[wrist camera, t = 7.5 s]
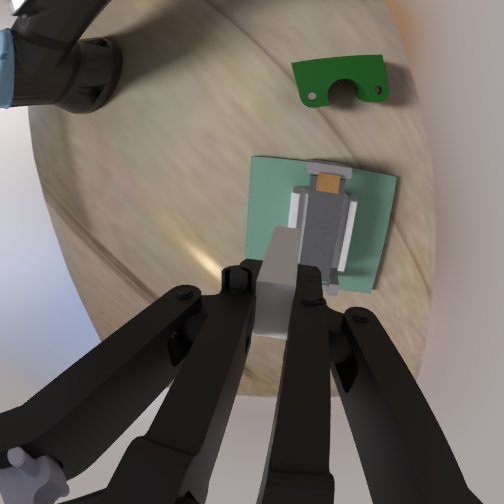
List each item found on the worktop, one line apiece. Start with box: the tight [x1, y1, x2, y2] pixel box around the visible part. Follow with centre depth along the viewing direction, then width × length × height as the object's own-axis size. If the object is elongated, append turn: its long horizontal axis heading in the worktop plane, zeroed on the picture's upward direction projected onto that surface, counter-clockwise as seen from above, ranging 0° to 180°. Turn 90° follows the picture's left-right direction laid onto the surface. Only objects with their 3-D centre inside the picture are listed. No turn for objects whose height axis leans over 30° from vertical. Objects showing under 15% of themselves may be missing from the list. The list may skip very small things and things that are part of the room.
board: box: [245, 156, 397, 296], centre depth 35 cm, size 18×20×8 cm
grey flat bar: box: [299, 172, 346, 282], centre depth 31 cm, size 14×4×2 cm, turn 176°
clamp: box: [291, 55, 389, 108], centre depth 28 cm, size 12×6×9 cm, turn 95°
